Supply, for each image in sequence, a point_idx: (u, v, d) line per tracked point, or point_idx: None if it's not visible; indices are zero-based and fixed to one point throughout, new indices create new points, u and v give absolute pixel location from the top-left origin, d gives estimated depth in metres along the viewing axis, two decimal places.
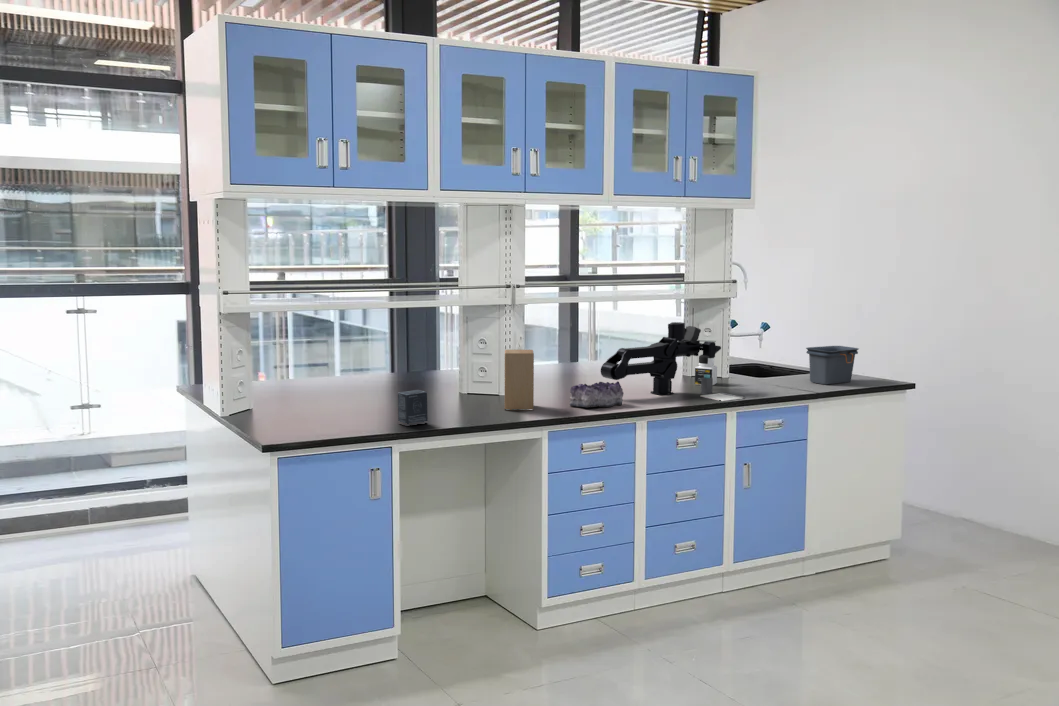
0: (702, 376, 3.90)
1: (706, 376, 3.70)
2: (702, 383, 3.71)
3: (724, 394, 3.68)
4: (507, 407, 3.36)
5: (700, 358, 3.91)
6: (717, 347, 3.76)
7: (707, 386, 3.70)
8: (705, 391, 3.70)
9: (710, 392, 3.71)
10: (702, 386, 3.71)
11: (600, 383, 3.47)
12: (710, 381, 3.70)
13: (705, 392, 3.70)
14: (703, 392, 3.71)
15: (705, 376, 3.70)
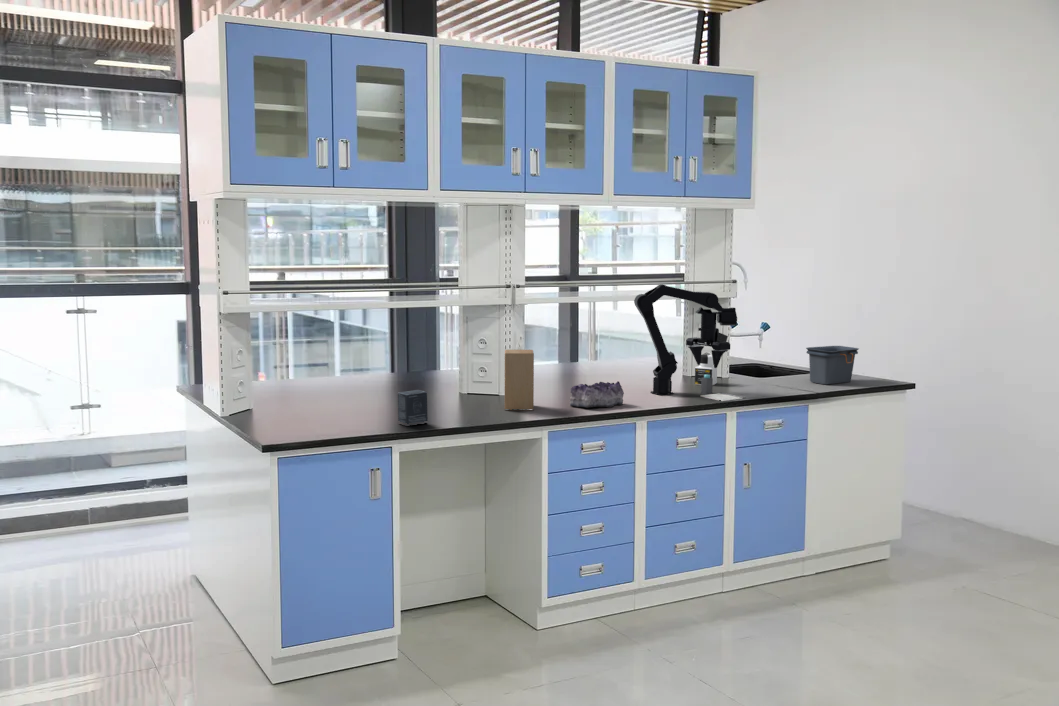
0: (702, 376, 3.90)
1: (706, 376, 3.70)
2: (702, 383, 3.71)
3: (724, 394, 3.68)
4: (507, 407, 3.36)
5: None
6: (718, 361, 3.66)
7: (707, 386, 3.70)
8: (705, 391, 3.70)
9: (710, 392, 3.71)
10: (702, 386, 3.71)
11: (600, 383, 3.47)
12: (710, 381, 3.70)
13: (705, 392, 3.70)
14: (703, 392, 3.71)
15: (705, 376, 3.70)
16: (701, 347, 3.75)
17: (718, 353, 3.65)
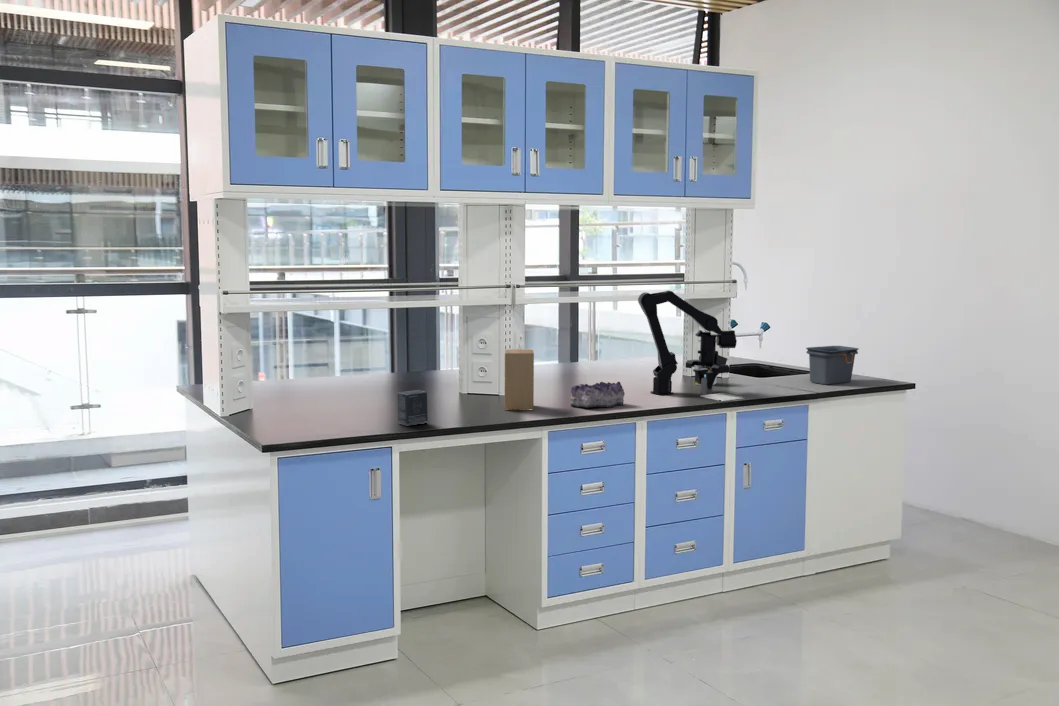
0: None
1: None
2: (702, 383, 3.71)
3: (724, 394, 3.68)
4: (507, 407, 3.36)
5: None
6: (712, 382, 3.69)
7: (707, 386, 3.70)
8: (705, 391, 3.70)
9: (710, 392, 3.71)
10: (702, 385, 3.71)
11: (601, 383, 3.47)
12: None
13: (705, 392, 3.70)
14: (703, 392, 3.71)
15: (705, 376, 3.70)
16: (706, 370, 3.73)
17: (712, 375, 3.69)
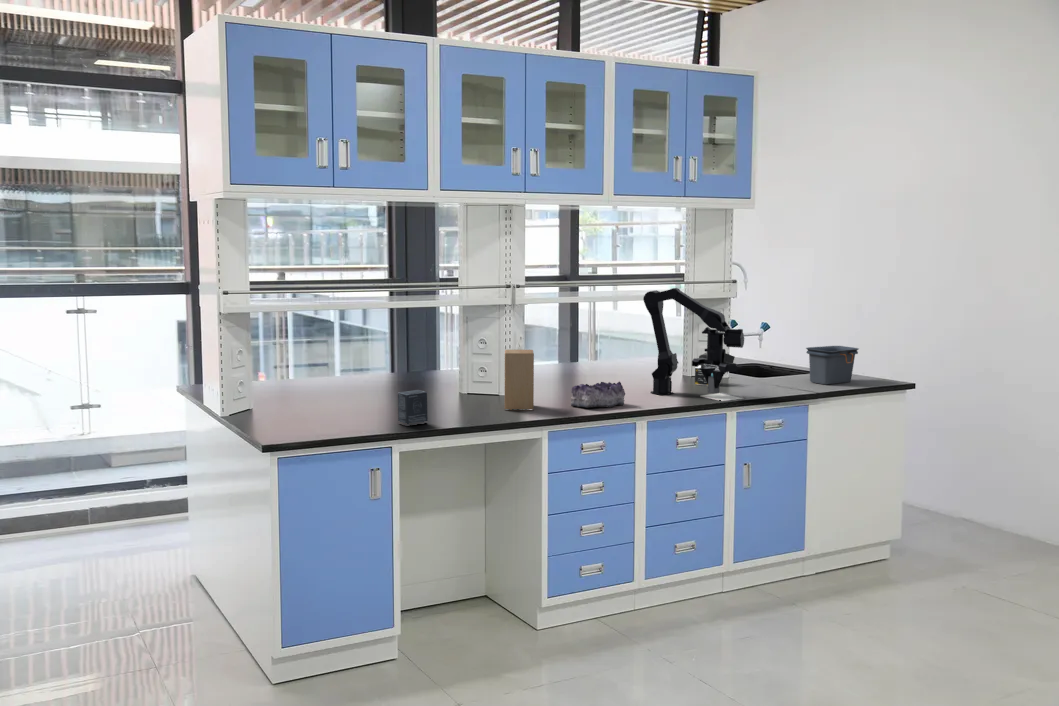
0: (702, 376, 3.90)
1: None
2: (709, 382, 3.62)
3: (724, 394, 3.68)
4: (507, 407, 3.36)
5: None
6: (719, 381, 3.60)
7: (714, 385, 3.60)
8: (712, 390, 3.60)
9: (717, 391, 3.61)
10: (709, 384, 3.62)
11: (602, 383, 3.47)
12: None
13: (712, 391, 3.60)
14: (710, 391, 3.61)
15: (712, 375, 3.61)
16: (713, 369, 3.64)
17: (719, 373, 3.59)
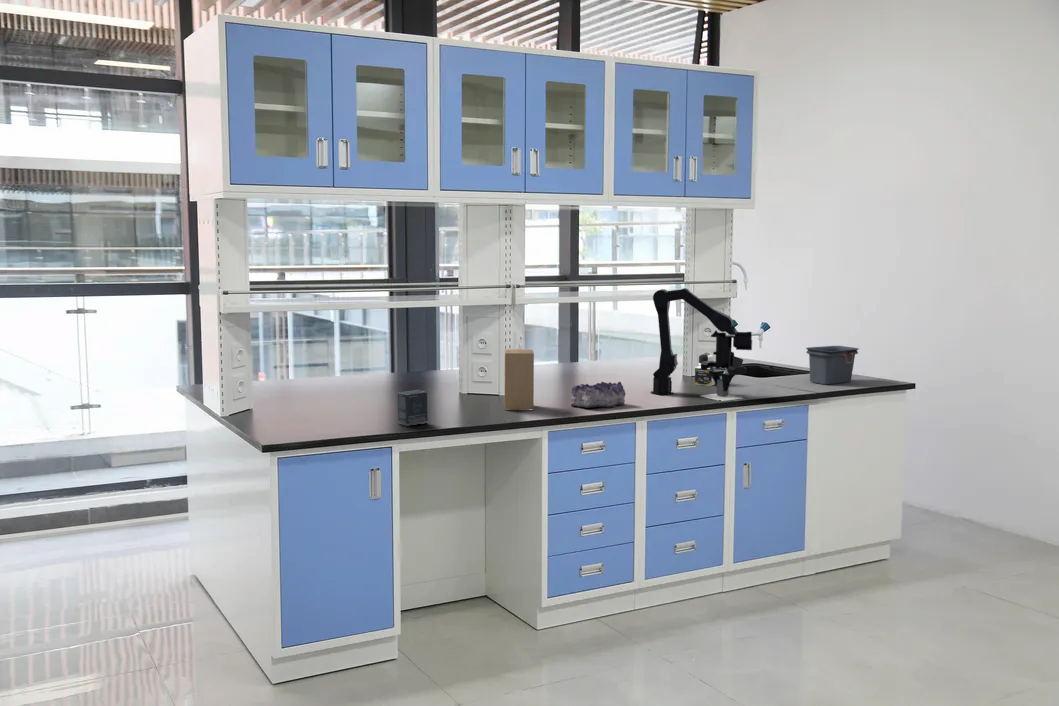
0: (702, 376, 3.90)
1: None
2: (718, 385, 3.64)
3: None
4: (507, 407, 3.36)
5: (700, 358, 3.91)
6: (728, 384, 3.62)
7: (723, 388, 3.62)
8: (721, 393, 3.63)
9: (726, 394, 3.64)
10: (718, 387, 3.64)
11: (602, 383, 3.47)
12: None
13: (721, 394, 3.63)
14: (719, 394, 3.64)
15: (721, 378, 3.63)
16: (721, 372, 3.66)
17: (728, 376, 3.61)
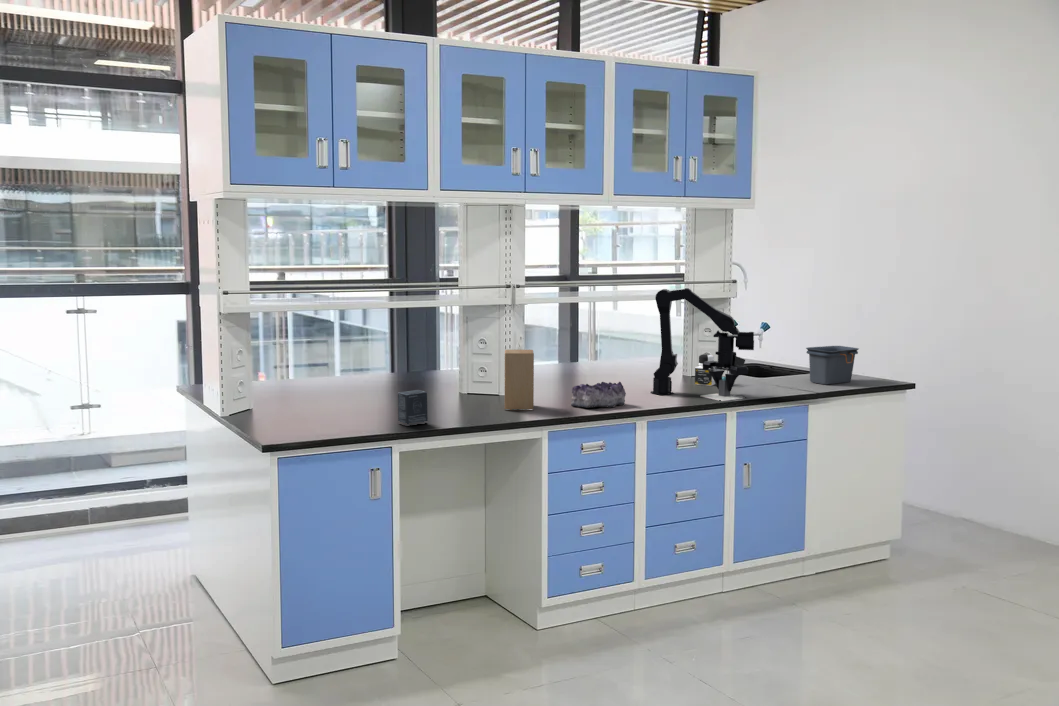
0: (702, 376, 3.90)
1: (724, 378, 3.63)
2: (720, 385, 3.65)
3: None
4: (507, 407, 3.36)
5: (700, 358, 3.91)
6: (732, 384, 3.62)
7: (725, 388, 3.63)
8: (723, 393, 3.64)
9: (728, 394, 3.64)
10: (720, 388, 3.65)
11: (602, 383, 3.47)
12: None
13: (723, 394, 3.64)
14: (721, 394, 3.65)
15: (723, 378, 3.64)
16: (722, 371, 3.68)
17: (732, 377, 3.61)
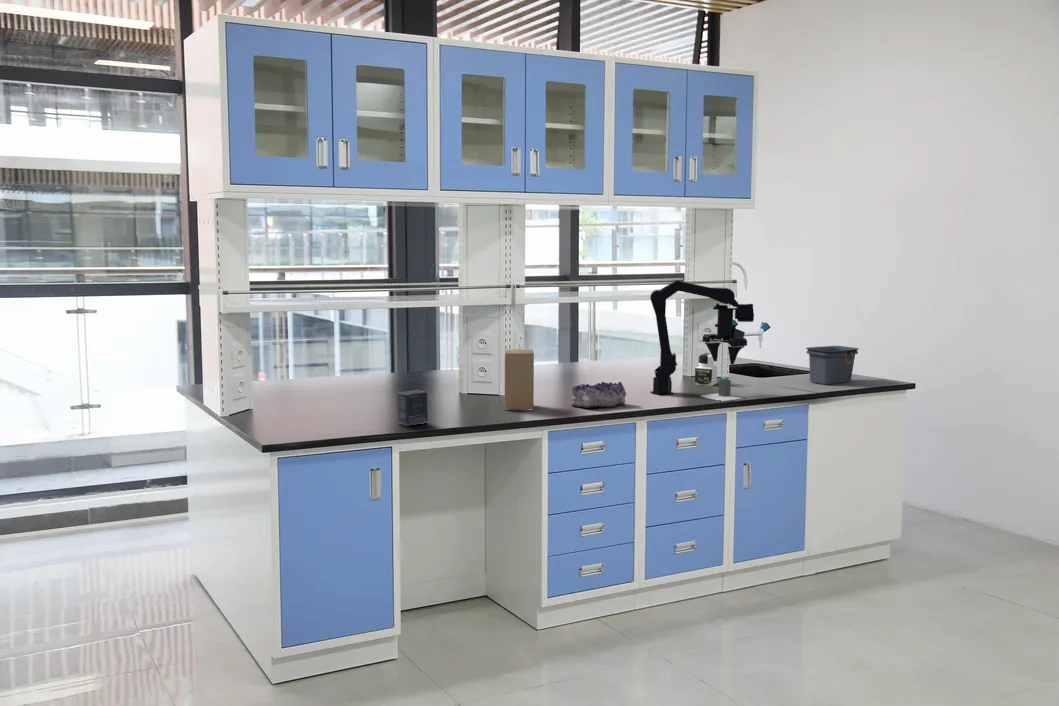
0: (702, 376, 3.90)
1: (724, 378, 3.63)
2: (720, 385, 3.65)
3: None
4: (507, 407, 3.36)
5: (700, 358, 3.91)
6: (734, 357, 3.62)
7: (725, 388, 3.63)
8: (723, 393, 3.64)
9: (728, 394, 3.64)
10: (720, 388, 3.65)
11: (602, 383, 3.47)
12: (728, 383, 3.64)
13: (723, 394, 3.64)
14: (721, 394, 3.65)
15: (723, 378, 3.64)
16: (718, 343, 3.71)
17: (735, 349, 3.62)
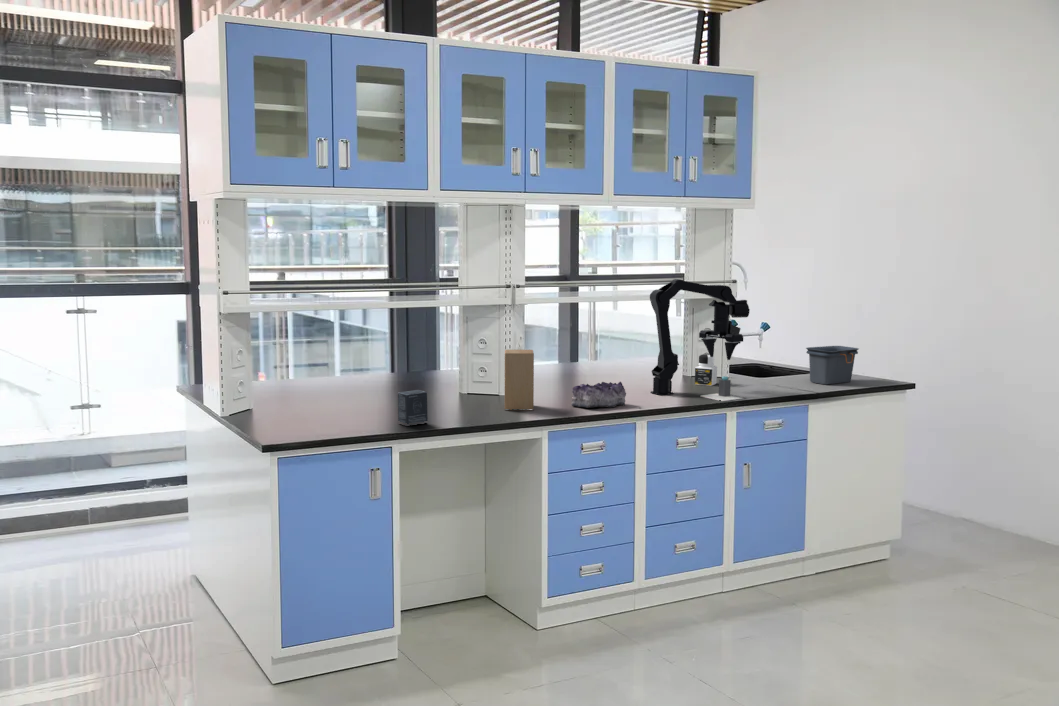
0: (702, 376, 3.90)
1: (724, 378, 3.63)
2: (720, 385, 3.65)
3: None
4: (507, 407, 3.36)
5: (700, 358, 3.91)
6: (731, 353, 3.70)
7: (725, 388, 3.63)
8: (723, 393, 3.64)
9: (728, 394, 3.64)
10: (720, 388, 3.65)
11: (603, 383, 3.47)
12: (728, 383, 3.64)
13: (723, 394, 3.64)
14: (721, 394, 3.65)
15: (723, 378, 3.64)
16: (714, 339, 3.79)
17: (731, 345, 3.69)
